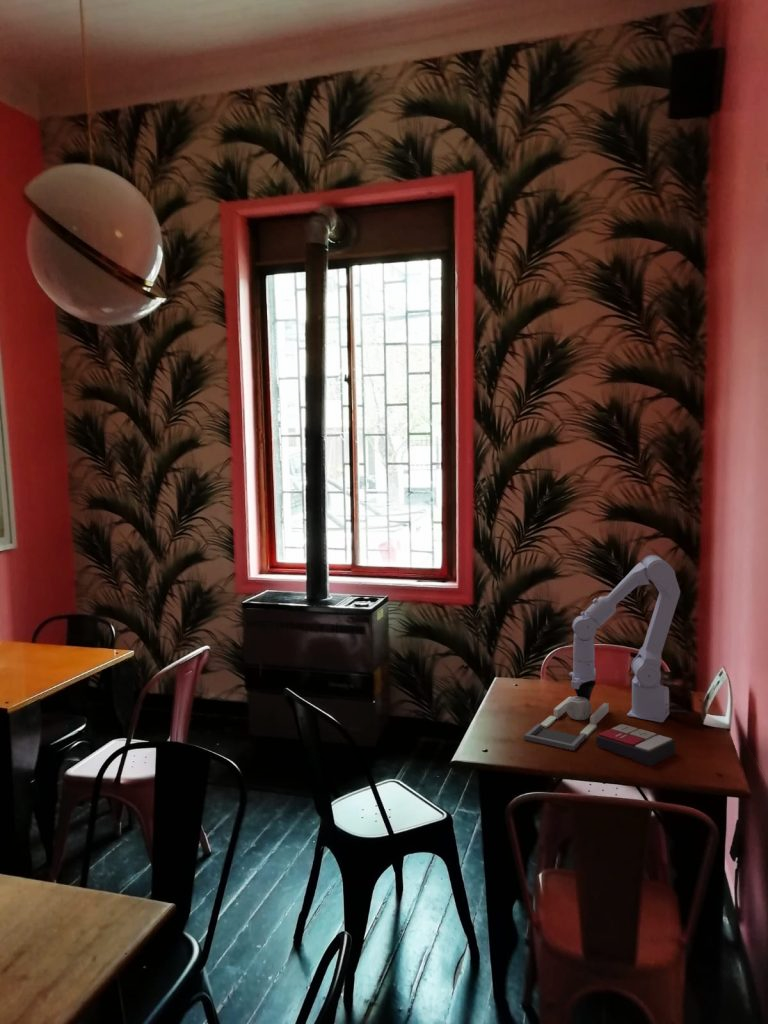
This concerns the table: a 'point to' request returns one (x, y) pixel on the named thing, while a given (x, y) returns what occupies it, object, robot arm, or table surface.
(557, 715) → the white guide rails
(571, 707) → the die
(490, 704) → the table surface
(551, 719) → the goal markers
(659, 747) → the calculator
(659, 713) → the robot arm
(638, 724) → the table surface
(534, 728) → the tray
